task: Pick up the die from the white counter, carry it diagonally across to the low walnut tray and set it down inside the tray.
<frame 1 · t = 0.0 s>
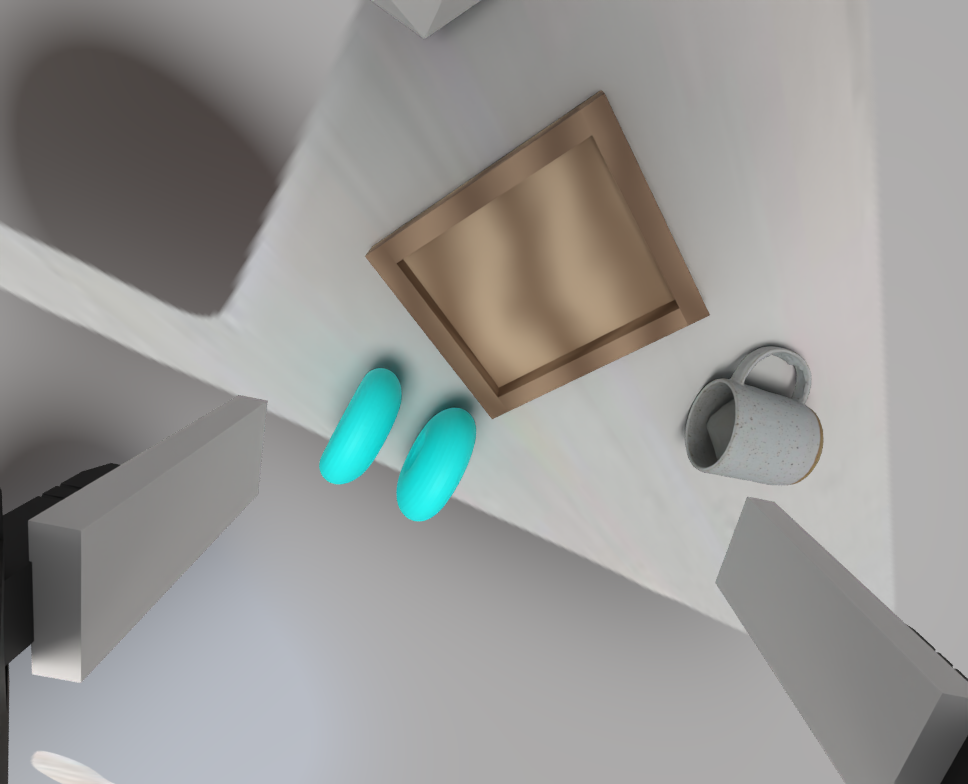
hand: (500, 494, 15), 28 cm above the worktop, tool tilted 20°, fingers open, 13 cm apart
donuts: (411, 407, 48), on the worktop
ceramic mug: (742, 394, 45), on the worktop
tray: (538, 274, 40), on the worktop
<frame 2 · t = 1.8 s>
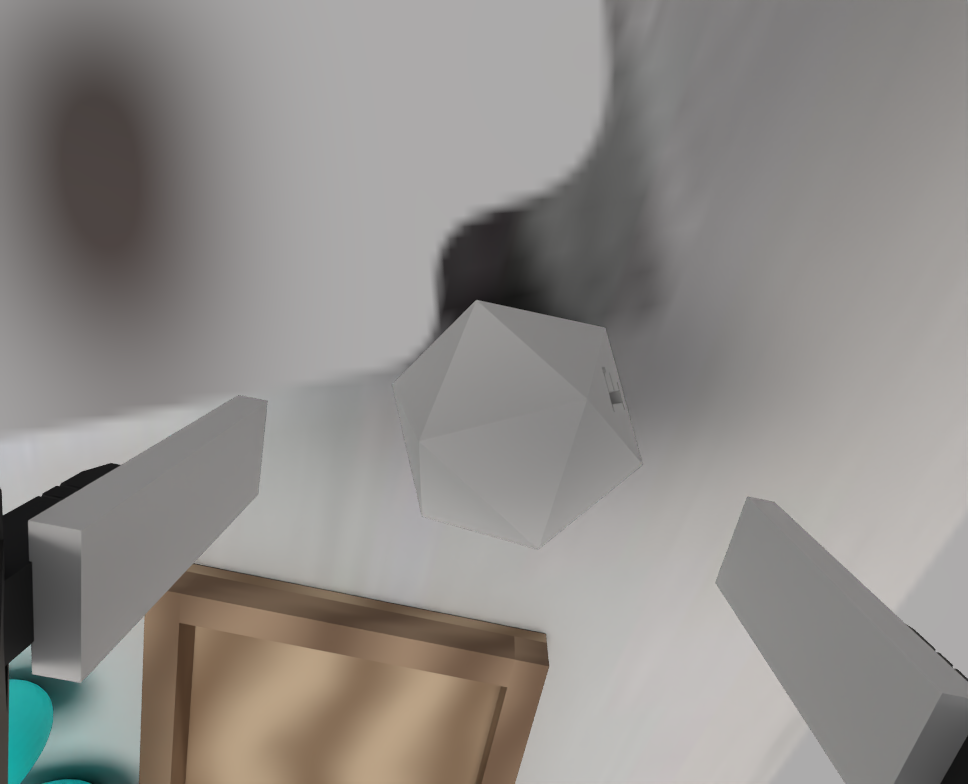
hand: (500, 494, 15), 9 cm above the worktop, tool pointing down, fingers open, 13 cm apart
die: (511, 392, 24), on the worktop
donuts: (47, 737, 30), on the worktop
tray: (339, 727, 29), on the worktop
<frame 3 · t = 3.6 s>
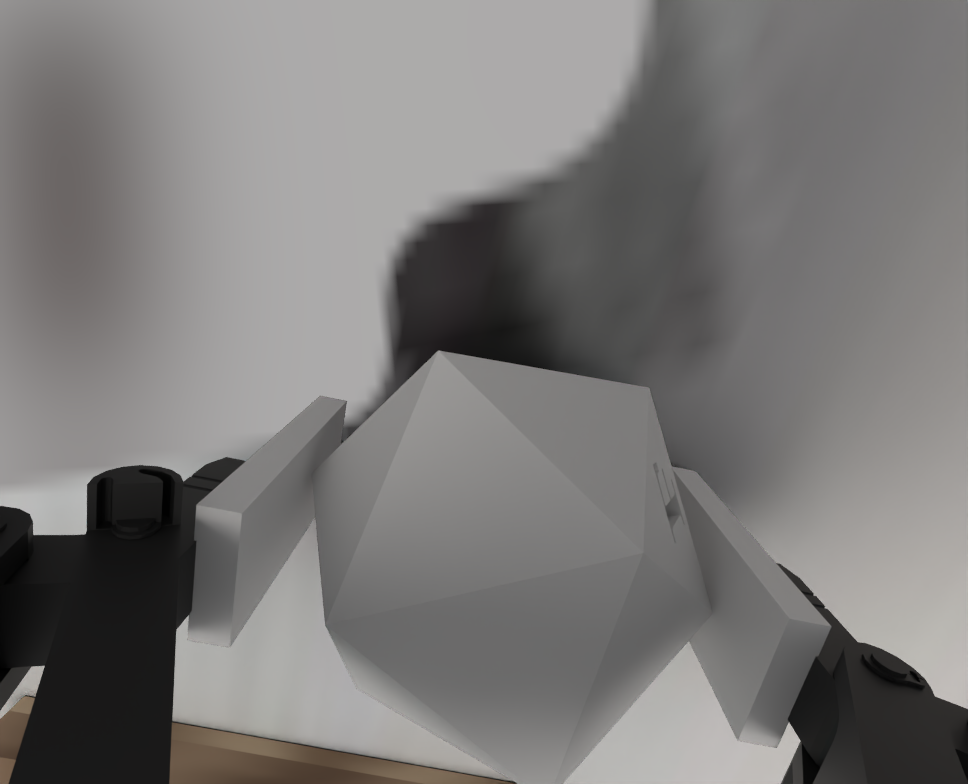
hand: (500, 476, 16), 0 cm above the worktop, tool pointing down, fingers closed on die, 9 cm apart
die: (500, 468, 16), on the worktop, touching gripper
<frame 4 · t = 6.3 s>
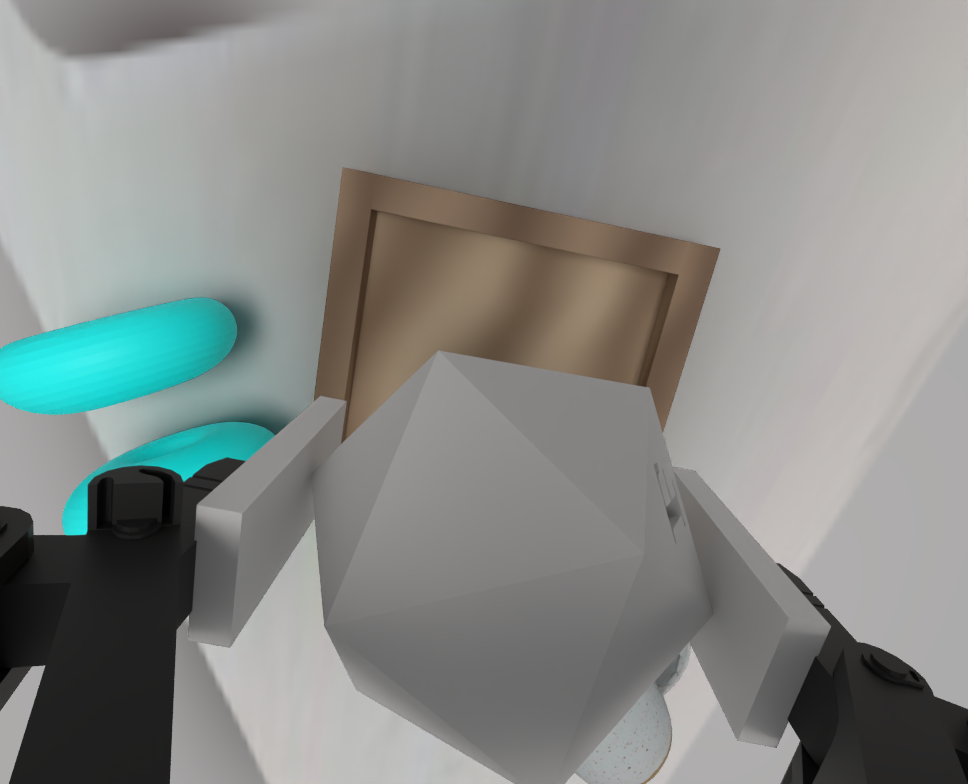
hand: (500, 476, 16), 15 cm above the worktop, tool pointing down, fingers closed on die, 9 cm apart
die: (500, 468, 16), point 15 cm above the worktop, touching gripper
donuts: (209, 390, 31), on the worktop
ceramic mug: (601, 640, 35), on the worktop
tray: (497, 364, 30), on the worktop
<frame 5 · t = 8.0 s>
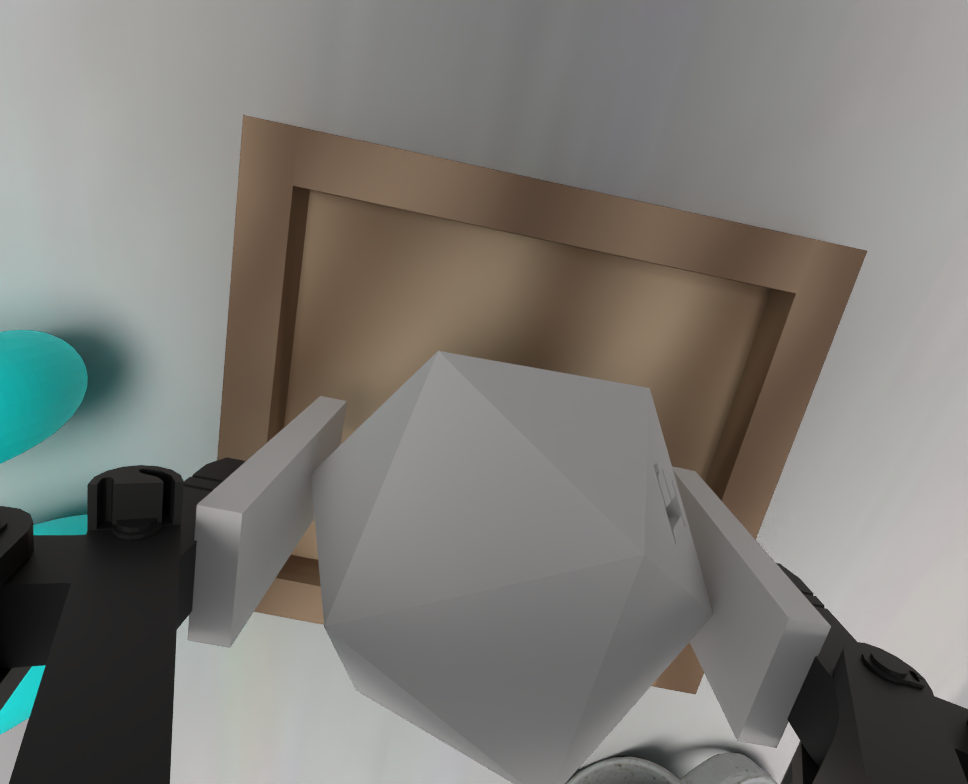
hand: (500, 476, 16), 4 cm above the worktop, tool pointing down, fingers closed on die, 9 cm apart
die: (500, 468, 16), point 4 cm above the worktop, touching gripper
donuts: (72, 460, 21), on the worktop
tray: (500, 424, 20), on the worktop
when the fingers open (2 cm above the worktop, at t = 9.4 s): die drops 1 cm, resting on tray.
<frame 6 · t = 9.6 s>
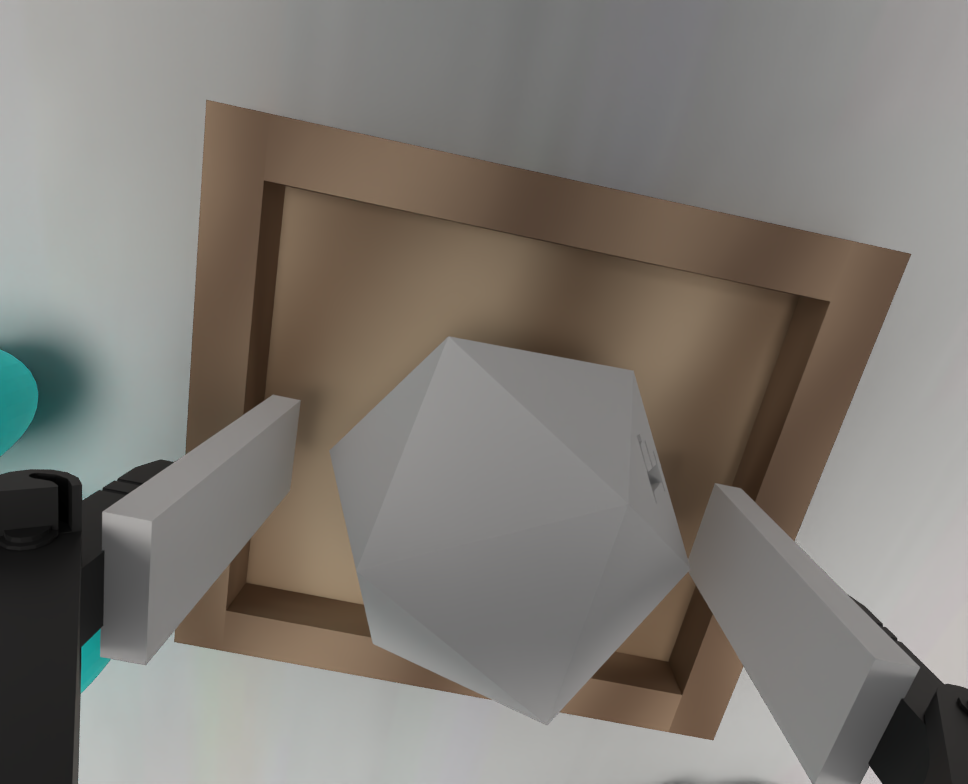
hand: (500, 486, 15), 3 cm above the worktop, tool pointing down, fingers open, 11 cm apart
die: (498, 448, 18), resting on tray
donuts: (28, 483, 19), on the worktop
tray: (499, 445, 18), on the worktop
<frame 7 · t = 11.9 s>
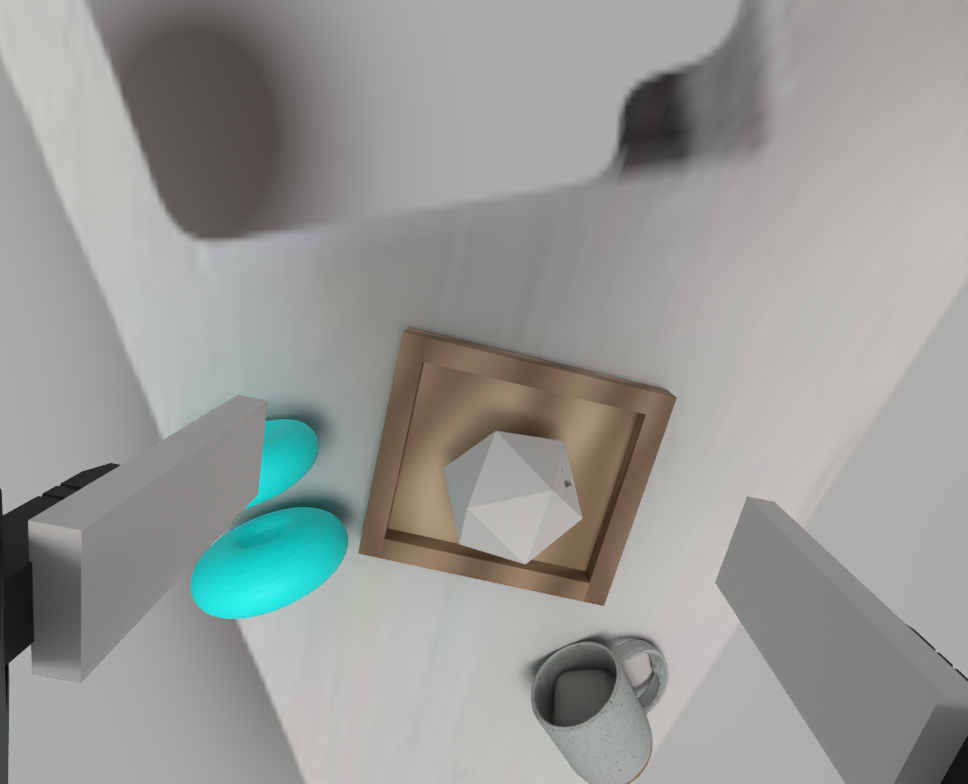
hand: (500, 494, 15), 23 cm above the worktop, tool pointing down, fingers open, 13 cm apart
die: (509, 468, 39), resting on tray
donuts: (284, 478, 40), on the worktop
ceramic mug: (598, 668, 45), on the worktop
tray: (509, 466, 40), on the worktop
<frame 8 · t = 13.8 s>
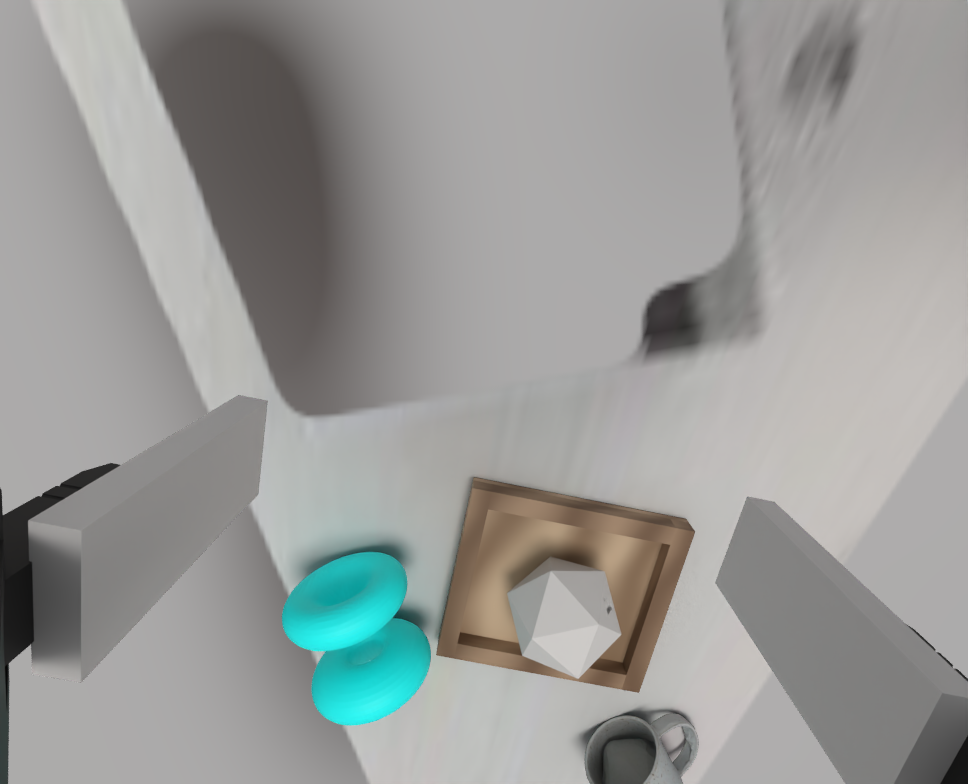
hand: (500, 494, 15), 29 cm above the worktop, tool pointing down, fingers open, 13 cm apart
die: (557, 583, 48), resting on tray
donuts: (373, 593, 49), on the worktop
ceramic mug: (638, 735, 53), on the worktop
tray: (557, 581, 48), on the worktop
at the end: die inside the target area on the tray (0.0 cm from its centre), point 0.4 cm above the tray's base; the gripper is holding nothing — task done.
